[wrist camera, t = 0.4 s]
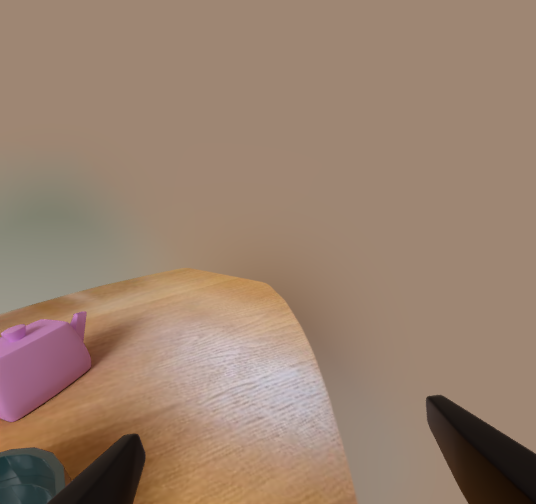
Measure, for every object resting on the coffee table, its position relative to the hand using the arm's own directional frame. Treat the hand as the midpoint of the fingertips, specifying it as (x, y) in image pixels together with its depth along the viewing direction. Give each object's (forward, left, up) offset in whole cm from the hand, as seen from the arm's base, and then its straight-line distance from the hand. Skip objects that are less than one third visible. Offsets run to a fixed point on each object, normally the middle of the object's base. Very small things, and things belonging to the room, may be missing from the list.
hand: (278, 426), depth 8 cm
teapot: (+25, +40, -17) cm, 50 cm away
